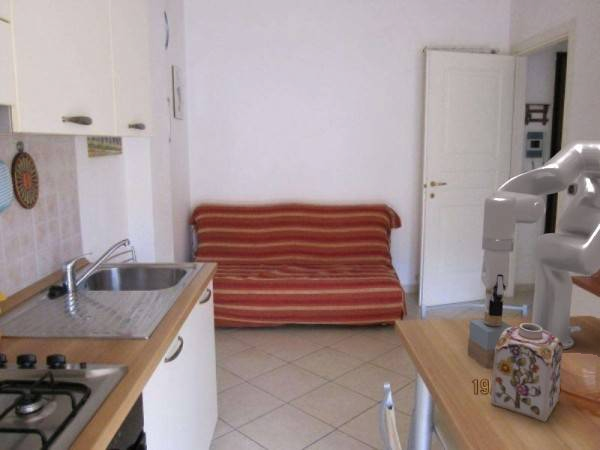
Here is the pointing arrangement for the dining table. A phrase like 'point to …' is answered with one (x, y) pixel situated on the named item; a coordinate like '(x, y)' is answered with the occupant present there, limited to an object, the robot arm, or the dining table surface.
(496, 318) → the sprinkles bottle
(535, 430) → the dining table surface
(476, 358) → the walnut base block
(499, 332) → the slate top block
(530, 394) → the decorative jar
